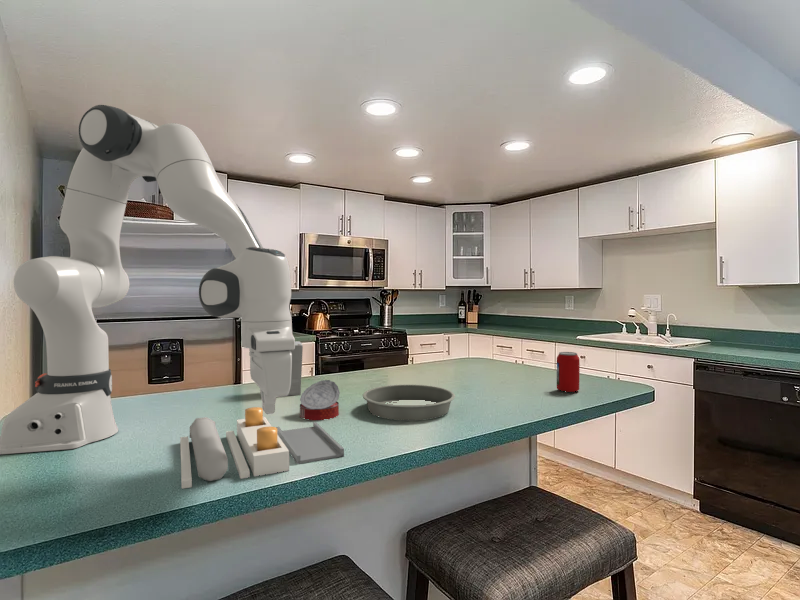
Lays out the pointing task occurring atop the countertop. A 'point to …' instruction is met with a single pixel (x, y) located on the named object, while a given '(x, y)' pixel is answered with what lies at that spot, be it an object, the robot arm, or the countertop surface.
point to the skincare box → (296, 369)
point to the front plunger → (266, 438)
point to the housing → (257, 459)
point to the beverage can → (568, 371)
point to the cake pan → (408, 392)
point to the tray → (310, 444)
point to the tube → (208, 449)
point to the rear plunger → (253, 416)
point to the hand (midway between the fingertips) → (268, 412)
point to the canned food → (320, 401)
